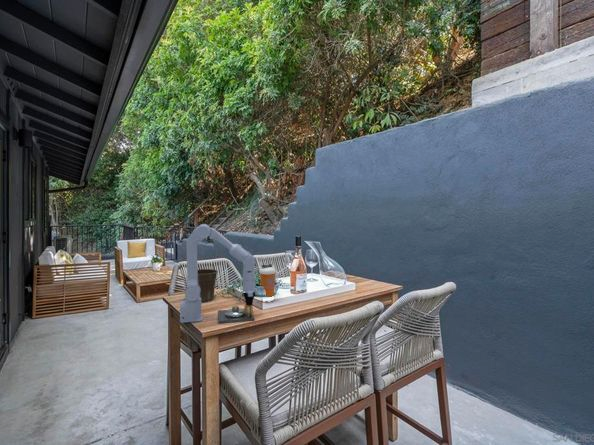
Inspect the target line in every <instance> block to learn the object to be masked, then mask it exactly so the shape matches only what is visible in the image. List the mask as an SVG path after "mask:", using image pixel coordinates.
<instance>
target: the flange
mask: <svg viewBox="0 0 594 445" xmlns="http://www.w3.org/2000/svg"><path fill="white" fill-rule="evenodd" d="M243 307H244V308H245V309H244V308H241V307H239V306H237V305H235V306H232V308H229V309H225V310H226V311H225V315H226V316H228V317H239V316H243V315H247V307H250V315H254V309H253V307H254V305H253V304H252V305H247V304H246V303H245V304H244V306H243Z"/></svg>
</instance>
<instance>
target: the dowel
mask: <svg viewBox="0 0 594 445" xmlns="http://www.w3.org/2000/svg"><path fill="white" fill-rule="evenodd" d="M247 317H250V307H247Z"/></svg>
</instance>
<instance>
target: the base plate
mask: <svg viewBox="0 0 594 445" xmlns="http://www.w3.org/2000/svg"><path fill="white" fill-rule="evenodd" d="M243 309H245V307H244V308H243ZM226 310H227V309H220V310H217V320H218V321H217V324H218V325H221V324H222V325H223V324H232V323H239V322H240V323H241V322H242V323H243V322H245V323H246V322H255V321H256V320H255V315H254V314H253V315H250V317H247V315H243V316H239V317H228V316H226V315H225V311H226Z"/></svg>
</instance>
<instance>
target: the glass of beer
mask: <svg viewBox="0 0 594 445" xmlns="http://www.w3.org/2000/svg"><path fill="white" fill-rule="evenodd" d="M275 268H276V266H275V265H274V264H270V263H269V264H261V268H259V277H260V281H261V282H260V286H261V285H262V286H263V287H264V289H265V291H266V296H267V297H272V296H274V297H275V294H274V287H275V288H276V286H275V285H276V273H277V271H276V269H275Z"/></svg>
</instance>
